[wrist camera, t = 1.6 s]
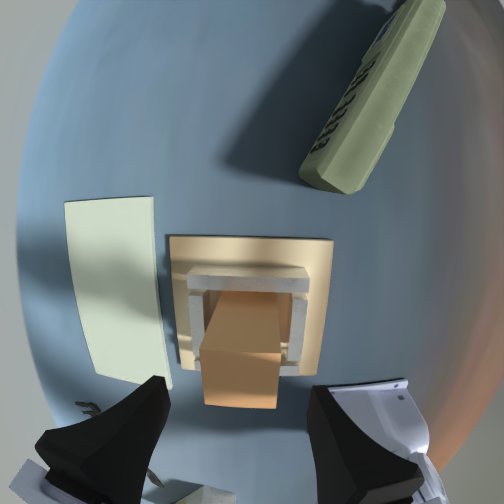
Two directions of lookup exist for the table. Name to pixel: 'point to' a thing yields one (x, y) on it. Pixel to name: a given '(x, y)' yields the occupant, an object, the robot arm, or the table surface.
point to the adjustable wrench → (94, 413)
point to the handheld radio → (373, 100)
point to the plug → (242, 351)
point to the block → (208, 496)
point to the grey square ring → (255, 281)
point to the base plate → (255, 254)
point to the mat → (118, 286)
